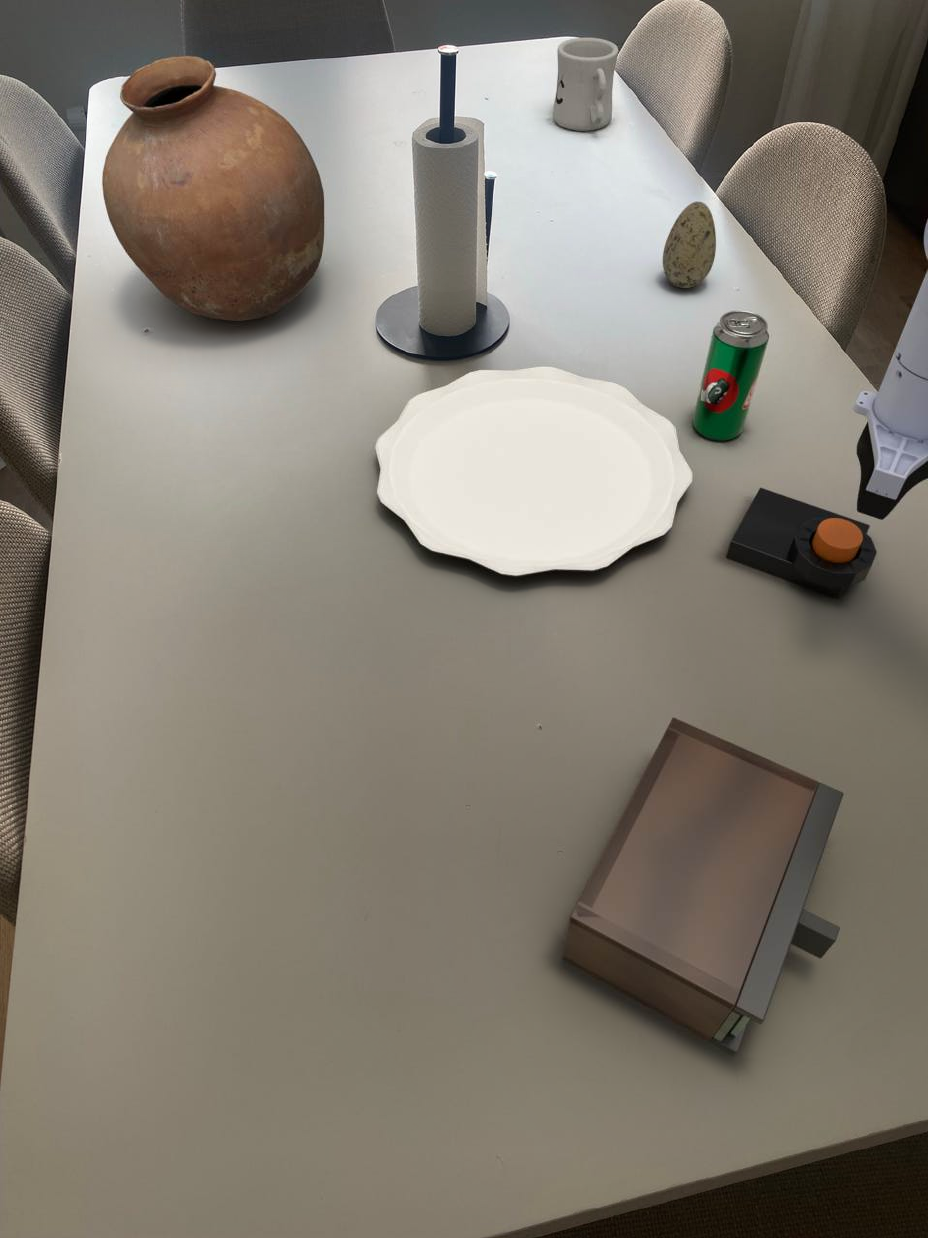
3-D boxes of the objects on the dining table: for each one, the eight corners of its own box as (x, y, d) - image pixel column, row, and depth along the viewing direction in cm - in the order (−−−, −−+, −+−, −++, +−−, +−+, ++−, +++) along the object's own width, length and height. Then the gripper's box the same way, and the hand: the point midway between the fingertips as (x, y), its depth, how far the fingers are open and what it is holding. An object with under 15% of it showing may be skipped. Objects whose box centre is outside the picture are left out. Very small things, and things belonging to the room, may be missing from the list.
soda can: (746, 444, 91) (777, 338, 82) (695, 444, 91) (720, 338, 82) (737, 412, 94) (766, 307, 85) (688, 412, 94) (711, 307, 85)
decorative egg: (655, 294, 108) (669, 212, 101) (660, 269, 112) (674, 187, 104) (706, 301, 108) (724, 218, 100) (709, 275, 111) (727, 193, 104)
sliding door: (821, 944, 58) (846, 913, 54) (782, 1062, 53) (806, 1038, 49) (772, 920, 59) (793, 887, 55) (730, 1033, 54) (749, 1007, 50)
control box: (876, 547, 81) (892, 514, 78) (848, 616, 76) (864, 584, 73) (754, 504, 85) (765, 471, 82) (720, 567, 80) (730, 535, 77)
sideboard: (812, 842, 63) (844, 792, 58) (735, 1056, 54) (763, 1021, 49) (656, 769, 67) (673, 716, 62) (560, 959, 58) (569, 916, 53)
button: (861, 542, 77) (868, 527, 75) (849, 569, 75) (856, 554, 74) (818, 527, 78) (824, 512, 77) (806, 553, 76) (812, 538, 75)
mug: (544, 111, 143) (548, 39, 135) (599, 105, 144) (607, 33, 136) (569, 144, 135) (575, 70, 127) (627, 138, 136) (636, 64, 129)
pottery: (360, 263, 114) (337, 36, 94) (288, 369, 99) (243, 127, 80) (194, 239, 118) (140, 18, 99) (102, 338, 104) (17, 101, 84)
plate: (373, 394, 96) (371, 374, 95) (646, 377, 98) (650, 358, 96) (382, 602, 78) (380, 583, 76) (720, 578, 79) (726, 559, 77)
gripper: (904, 292, 65) (845, 441, 76) (850, 399, 57) (792, 550, 68) (1008, 318, 63) (933, 469, 73) (967, 434, 55) (889, 585, 65)
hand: (871, 510), depth 70 cm, fingers closed
